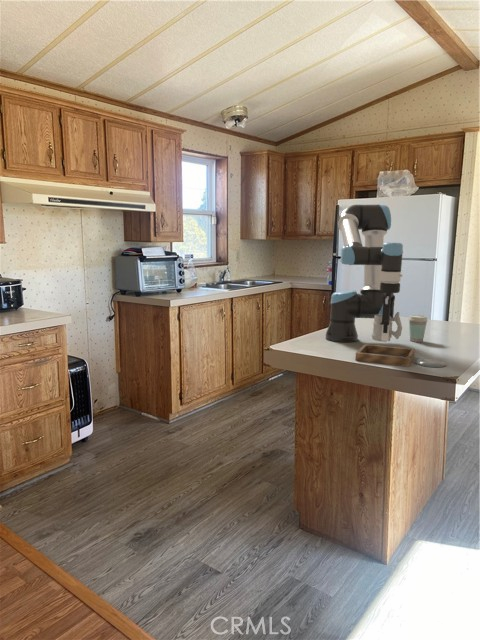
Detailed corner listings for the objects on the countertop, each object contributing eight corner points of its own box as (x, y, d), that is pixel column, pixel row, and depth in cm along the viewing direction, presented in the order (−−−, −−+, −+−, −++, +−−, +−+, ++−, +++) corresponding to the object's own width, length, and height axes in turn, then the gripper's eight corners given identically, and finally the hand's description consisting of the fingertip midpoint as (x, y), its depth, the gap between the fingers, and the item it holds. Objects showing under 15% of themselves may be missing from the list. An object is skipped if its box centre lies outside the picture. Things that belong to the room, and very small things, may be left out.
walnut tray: (355, 360, 190) (355, 352, 190) (364, 351, 207) (364, 344, 206) (409, 366, 182) (410, 358, 181) (414, 356, 198) (414, 349, 198)
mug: (374, 336, 200) (376, 308, 197) (403, 340, 193) (405, 311, 191) (368, 340, 193) (370, 310, 191) (398, 344, 187) (401, 313, 185)
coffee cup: (427, 343, 224) (429, 318, 222) (408, 342, 226) (410, 317, 224) (424, 339, 233) (426, 315, 231) (405, 338, 234) (407, 314, 232)
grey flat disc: (413, 365, 184) (413, 363, 183) (416, 359, 193) (416, 357, 193) (444, 368, 179) (445, 367, 179) (446, 362, 189) (446, 360, 189)
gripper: (396, 285, 179) (392, 345, 183) (403, 280, 197) (399, 334, 201) (376, 284, 182) (372, 342, 186) (384, 279, 200) (380, 333, 204)
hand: (386, 338), depth 193 cm, fingers closed on mug, 7 cm apart
